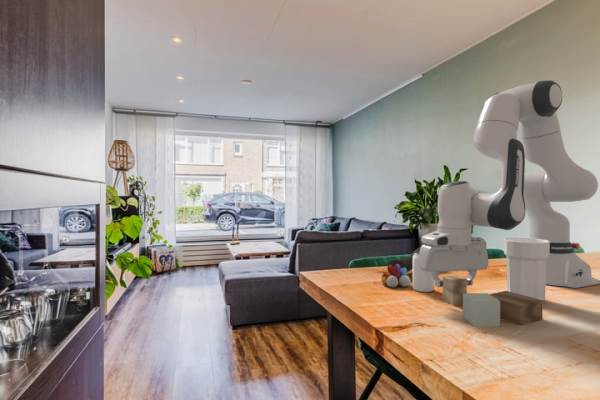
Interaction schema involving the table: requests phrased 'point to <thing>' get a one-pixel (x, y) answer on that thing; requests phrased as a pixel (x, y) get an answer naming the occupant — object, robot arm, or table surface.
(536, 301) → the walnut block
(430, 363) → the table surface
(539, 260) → the cup
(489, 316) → the sage block
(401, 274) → the colorful ball cluster
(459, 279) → the oak block
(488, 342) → the table surface
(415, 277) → the can
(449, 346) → the table surface
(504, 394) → the table surface
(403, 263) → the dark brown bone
